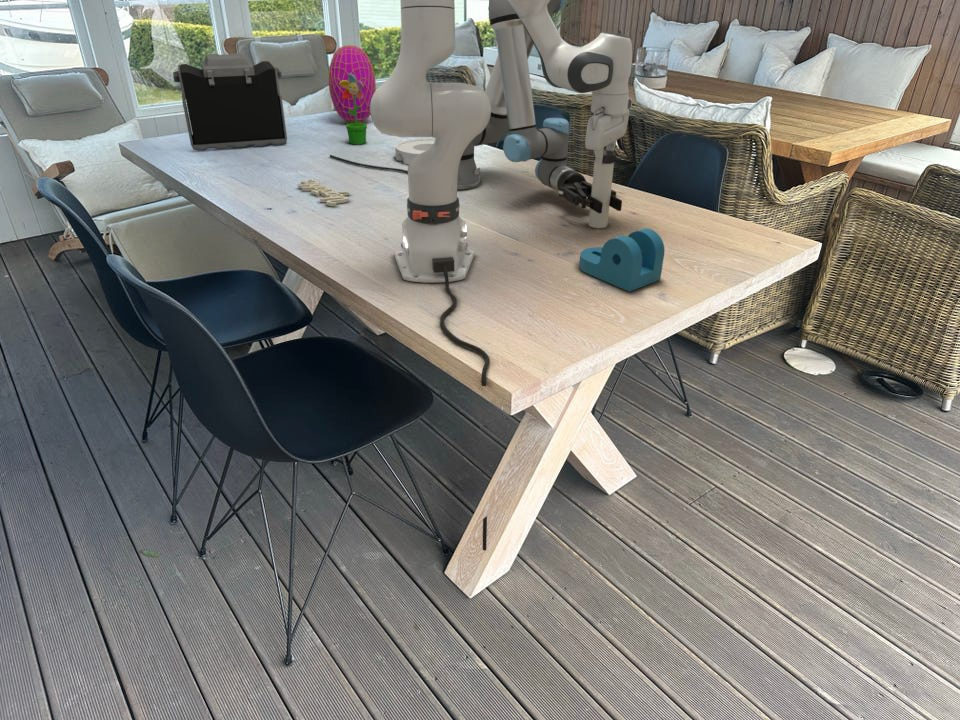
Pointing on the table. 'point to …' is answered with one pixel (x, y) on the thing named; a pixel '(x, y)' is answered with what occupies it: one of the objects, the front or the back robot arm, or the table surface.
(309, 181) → the decorative sign
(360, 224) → the table surface
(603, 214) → the beige long cylinder
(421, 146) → the ashtray
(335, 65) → the decorative egg
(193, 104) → the electronic device
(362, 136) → the potted flower
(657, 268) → the camera mount
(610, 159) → the lid
